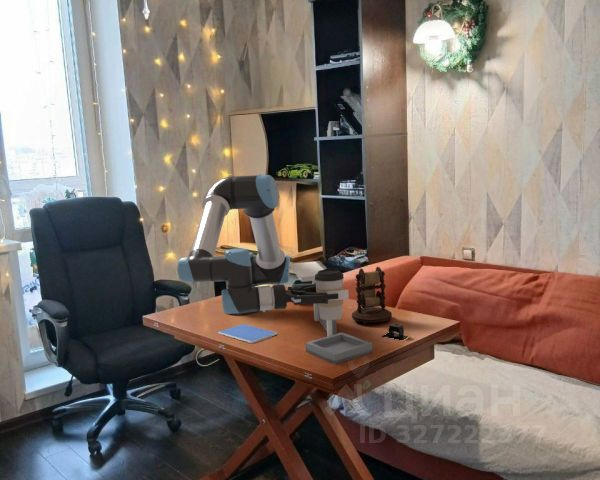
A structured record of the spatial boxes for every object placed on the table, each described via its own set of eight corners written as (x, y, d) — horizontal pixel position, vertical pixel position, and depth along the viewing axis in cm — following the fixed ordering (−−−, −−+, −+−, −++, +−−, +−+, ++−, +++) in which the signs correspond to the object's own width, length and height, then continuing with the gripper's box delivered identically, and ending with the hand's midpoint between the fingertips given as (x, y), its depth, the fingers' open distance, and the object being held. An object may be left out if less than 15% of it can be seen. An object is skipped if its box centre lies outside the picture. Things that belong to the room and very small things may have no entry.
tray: (306, 351, 188) (305, 342, 188) (342, 340, 196) (342, 332, 196) (335, 364, 176) (334, 354, 175) (372, 352, 184) (372, 343, 184)
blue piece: (217, 334, 212) (216, 331, 212) (243, 326, 221) (243, 322, 221) (251, 345, 198) (251, 341, 198) (278, 336, 207) (278, 332, 207)
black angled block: (417, 338, 197) (417, 325, 196) (407, 344, 191) (406, 331, 190) (385, 332, 205) (385, 319, 204) (374, 338, 199) (374, 325, 198)
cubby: (293, 322, 220) (290, 263, 217) (322, 319, 222) (319, 261, 218) (305, 342, 197) (301, 277, 193) (337, 339, 199) (334, 274, 195)
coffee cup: (343, 321, 178) (341, 273, 176) (314, 321, 180) (311, 273, 178) (347, 312, 187) (345, 266, 185) (319, 312, 189) (317, 267, 187)
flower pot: (295, 299, 253) (294, 279, 251) (316, 299, 251) (315, 279, 250) (292, 305, 244) (291, 284, 243) (313, 305, 243) (312, 283, 241)
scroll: (382, 312, 227) (380, 262, 223) (398, 323, 213) (397, 269, 209) (346, 317, 223) (344, 266, 219) (360, 328, 209) (358, 273, 205)
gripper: (269, 300, 191) (337, 294, 194) (277, 319, 170) (353, 311, 173) (268, 278, 189) (336, 272, 193) (276, 293, 169) (352, 286, 172)
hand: (344, 290), depth 183 cm, fingers closed on coffee cup, 8 cm apart
